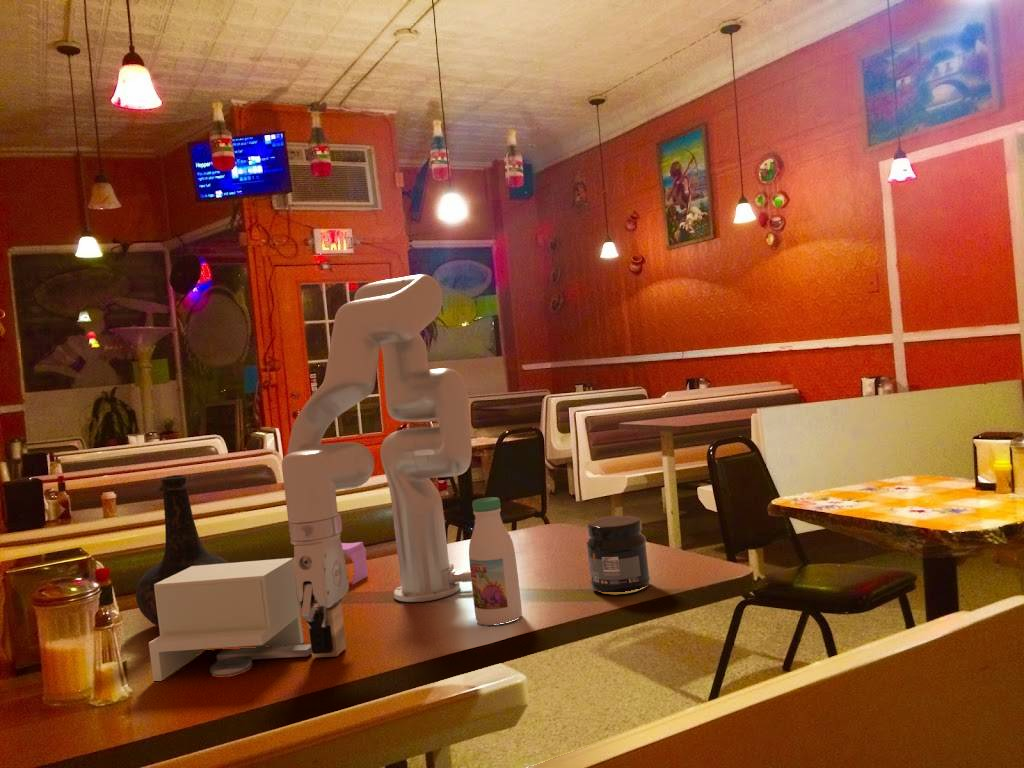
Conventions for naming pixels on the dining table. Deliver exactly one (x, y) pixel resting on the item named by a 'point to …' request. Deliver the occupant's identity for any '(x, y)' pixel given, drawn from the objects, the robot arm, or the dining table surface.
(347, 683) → the dining table surface
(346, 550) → the toy chair
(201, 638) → the white box on stand
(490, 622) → the milk bottle
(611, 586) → the supplement container
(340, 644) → the tool
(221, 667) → the token
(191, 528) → the glass bottle
